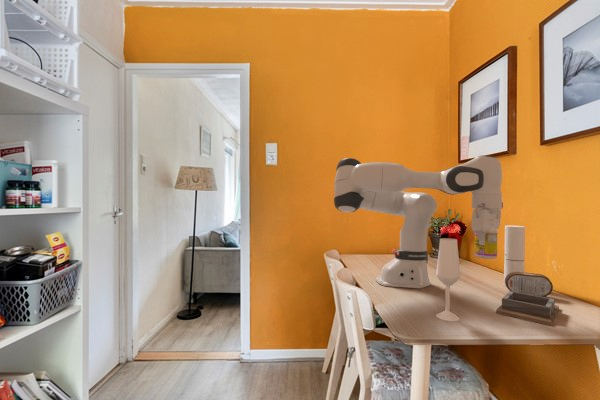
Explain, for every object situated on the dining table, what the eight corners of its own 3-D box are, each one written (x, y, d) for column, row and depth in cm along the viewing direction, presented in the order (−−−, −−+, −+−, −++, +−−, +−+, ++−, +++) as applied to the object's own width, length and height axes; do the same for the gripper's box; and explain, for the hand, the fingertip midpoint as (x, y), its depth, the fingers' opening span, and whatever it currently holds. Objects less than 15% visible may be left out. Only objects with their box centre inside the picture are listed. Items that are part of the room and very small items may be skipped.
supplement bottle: (470, 255, 113) (471, 219, 113) (488, 255, 113) (489, 219, 113) (482, 259, 106) (483, 220, 106) (501, 259, 107) (502, 220, 106)
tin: (551, 296, 121) (551, 274, 121) (553, 299, 118) (554, 276, 118) (504, 291, 127) (504, 270, 127) (505, 293, 124) (505, 271, 124)
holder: (551, 325, 93) (551, 311, 93) (495, 313, 103) (496, 300, 102) (558, 308, 107) (559, 296, 107) (509, 299, 117) (509, 288, 117)
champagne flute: (432, 312, 102) (433, 237, 102) (453, 313, 102) (454, 237, 102) (440, 320, 96) (441, 240, 95) (463, 321, 95) (464, 240, 95)
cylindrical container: (517, 282, 141) (518, 225, 140) (527, 287, 133) (528, 227, 133) (500, 282, 141) (501, 225, 141) (509, 286, 134) (510, 226, 134)
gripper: (488, 204, 100) (487, 248, 100) (504, 203, 114) (503, 242, 115) (466, 203, 104) (465, 246, 104) (484, 203, 119) (484, 240, 119)
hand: (485, 243), depth 110 cm, fingers closed on supplement bottle, 7 cm apart
